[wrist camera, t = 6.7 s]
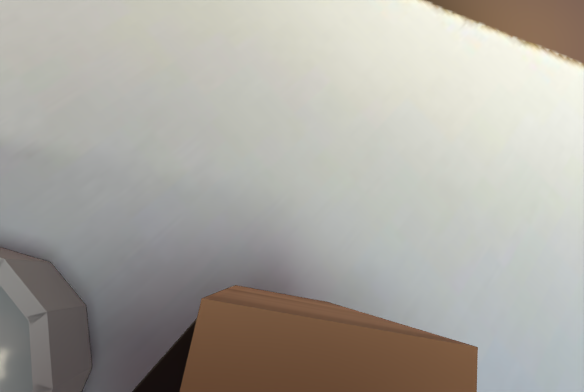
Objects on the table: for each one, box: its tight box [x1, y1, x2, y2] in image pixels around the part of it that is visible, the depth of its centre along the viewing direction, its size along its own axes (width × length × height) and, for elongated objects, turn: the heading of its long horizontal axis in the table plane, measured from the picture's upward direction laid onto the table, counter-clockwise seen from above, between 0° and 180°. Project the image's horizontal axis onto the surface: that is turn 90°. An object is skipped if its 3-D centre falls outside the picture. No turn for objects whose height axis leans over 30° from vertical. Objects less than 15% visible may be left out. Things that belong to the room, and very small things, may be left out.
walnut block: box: [180, 285, 478, 392], centre depth 10 cm, size 4×4×11 cm
